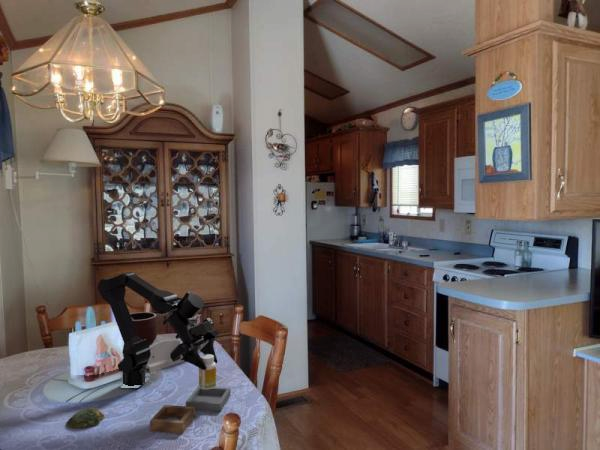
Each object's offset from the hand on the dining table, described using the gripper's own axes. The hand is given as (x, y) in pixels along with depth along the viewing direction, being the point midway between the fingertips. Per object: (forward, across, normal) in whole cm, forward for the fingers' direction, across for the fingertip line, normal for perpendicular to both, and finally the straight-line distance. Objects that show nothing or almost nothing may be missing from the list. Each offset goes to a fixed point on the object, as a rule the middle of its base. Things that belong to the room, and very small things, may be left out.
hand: (211, 366), depth 134 cm
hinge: (-17, +20, +35) cm, 44 cm away
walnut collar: (+7, -14, +10) cm, 19 cm away
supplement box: (-14, +33, +32) cm, 49 cm away
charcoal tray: (+8, +1, +10) cm, 12 cm away
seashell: (-10, -24, +28) cm, 38 cm away
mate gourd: (-27, +20, +45) cm, 56 cm away
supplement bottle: (+4, 0, +6) cm, 7 cm away
